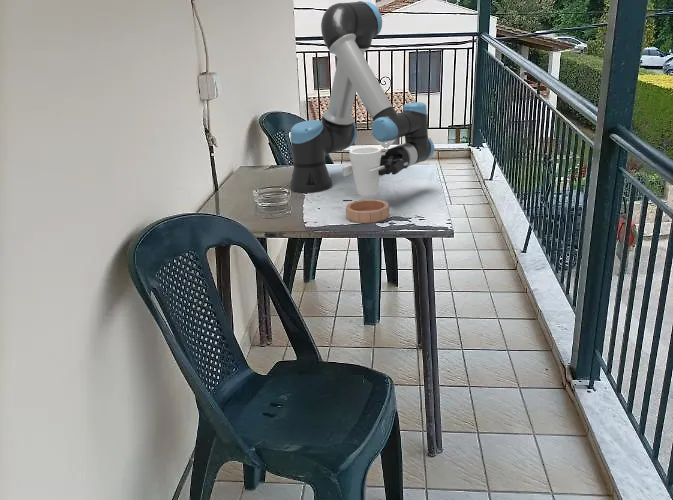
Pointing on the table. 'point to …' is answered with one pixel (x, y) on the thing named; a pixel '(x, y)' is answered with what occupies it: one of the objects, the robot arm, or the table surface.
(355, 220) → the bowl
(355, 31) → the robot arm
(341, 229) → the table surface
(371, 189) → the foam cup
